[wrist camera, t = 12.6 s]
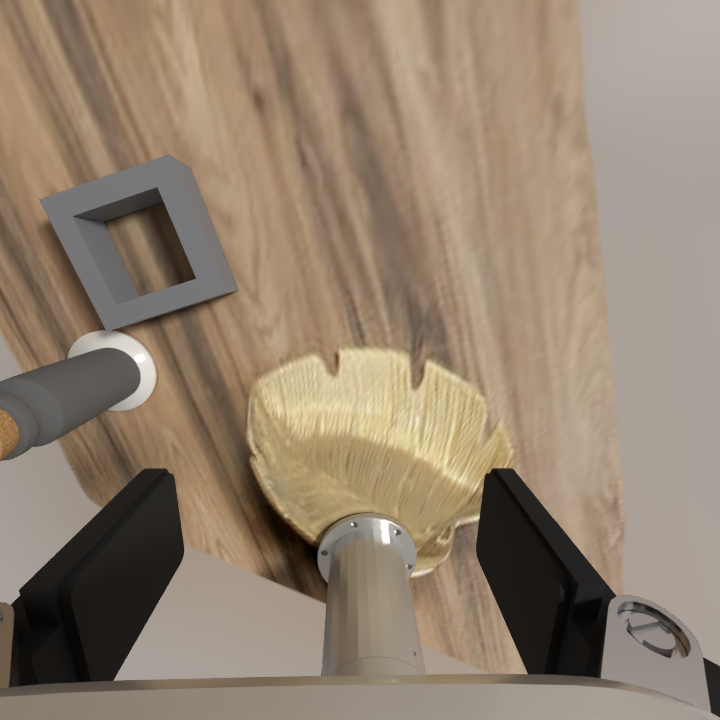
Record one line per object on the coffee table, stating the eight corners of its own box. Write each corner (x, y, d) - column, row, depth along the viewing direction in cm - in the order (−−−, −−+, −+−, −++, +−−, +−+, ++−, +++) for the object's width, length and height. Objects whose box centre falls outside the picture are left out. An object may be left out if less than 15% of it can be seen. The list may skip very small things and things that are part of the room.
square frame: (238, 290, 36) (225, 293, 32) (132, 324, 37) (106, 331, 33) (190, 167, 33) (168, 154, 29) (75, 207, 33) (39, 199, 30)
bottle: (129, 408, 38) (-7, 495, 24) (77, 382, 37) (-97, 455, 23) (150, 364, 37) (21, 428, 22) (97, 336, 36) (-74, 383, 22)
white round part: (171, 395, 39) (168, 397, 38) (98, 417, 39) (92, 420, 38) (134, 318, 36) (129, 319, 36) (56, 343, 37) (50, 345, 36)
